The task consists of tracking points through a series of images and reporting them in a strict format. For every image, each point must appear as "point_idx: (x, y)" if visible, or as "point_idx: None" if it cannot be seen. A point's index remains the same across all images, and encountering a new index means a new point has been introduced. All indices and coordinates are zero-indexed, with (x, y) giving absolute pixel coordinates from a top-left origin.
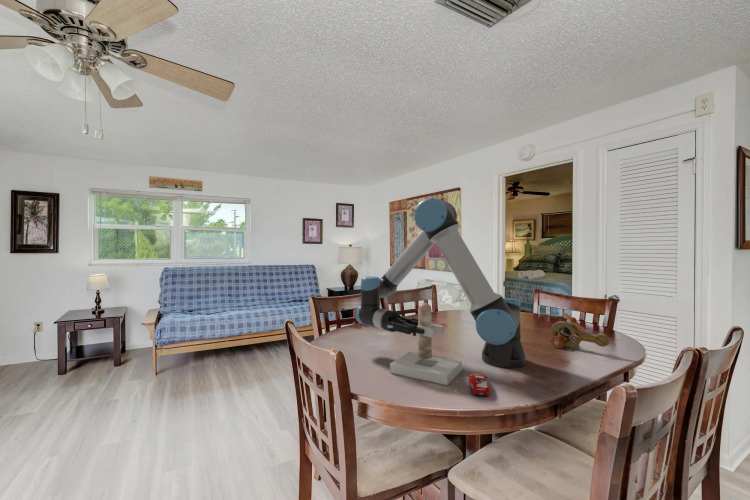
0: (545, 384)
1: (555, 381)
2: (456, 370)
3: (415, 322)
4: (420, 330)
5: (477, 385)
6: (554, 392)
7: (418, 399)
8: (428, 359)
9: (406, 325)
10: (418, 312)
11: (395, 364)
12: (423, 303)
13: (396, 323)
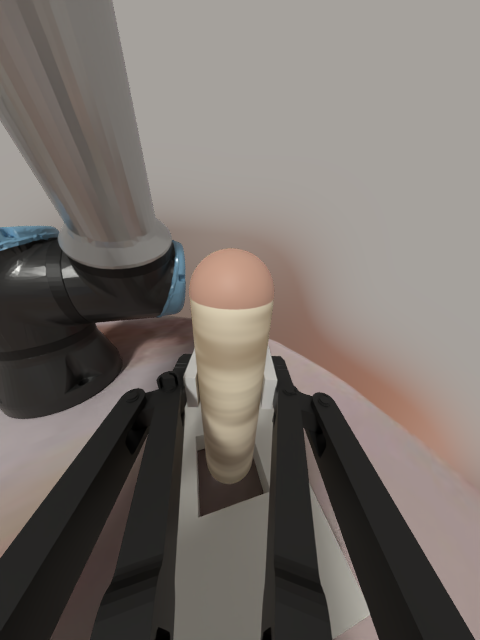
0: (171, 327)
1: (157, 324)
2: None
3: (172, 483)
4: (284, 364)
5: None
6: (189, 321)
7: (334, 392)
8: (195, 478)
9: (328, 434)
10: (267, 319)
11: (343, 563)
12: (243, 250)
13: (429, 626)
